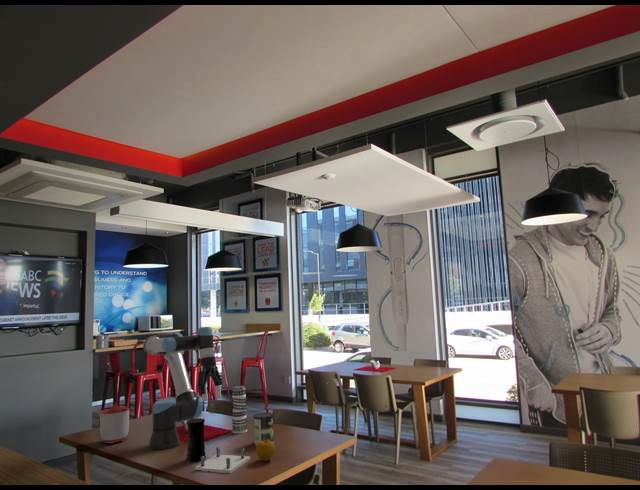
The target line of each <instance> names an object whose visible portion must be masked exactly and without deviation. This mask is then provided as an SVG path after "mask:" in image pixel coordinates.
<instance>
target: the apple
mask: <svg viewBox="0 0 640 490" xmlns="http://www.w3.org/2000/svg"><path fill="white" fill-rule="evenodd" d="M255 446H256V447H255V453H256V454H257V456H258V458H259V459H260V460H261V461H263V462H264V461H265V462H268V461H270V460H271V459H272V457H273V456H274V454H275V451H276V445H275V443H273V442H272V441H270V440H265V441H261V442H259V443H258V444H257V445H255Z"/></svg>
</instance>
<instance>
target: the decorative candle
mask: <svg viewBox="0 0 640 490" xmlns="http://www.w3.org/2000/svg"><path fill="white" fill-rule="evenodd" d="M246 389H247V388H246V387H245V386H244V385H235V386H233V388H232V389H231V391H232V395H231V396H230V401H231V411H232V420H231V421H232V423H231V424H232V434H243V433H247V432H248V428H249V427H248V417H247V409H248V407H247V406H248V405H247V403H248V401H247V400H248V398H247V397H246V396H247V394H246Z"/></svg>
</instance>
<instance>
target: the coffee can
mask: <svg viewBox="0 0 640 490" xmlns="http://www.w3.org/2000/svg"><path fill="white" fill-rule="evenodd" d="M252 418H253V436H254V437H253V441H254V442H253V443H254V445H255V446H257V444H258V443H259V442H261V441H265V440H270V441H272V442H273V443H274V442H275V441H274V439H275V438H274V436H275V435H274V414H273V413H272V412H258V413H255V414H254V415H252ZM274 444H275V443H274Z"/></svg>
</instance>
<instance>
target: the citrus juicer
mask: <svg viewBox="0 0 640 490" xmlns="http://www.w3.org/2000/svg"><path fill="white" fill-rule="evenodd" d="M98 413H99V434H100V437H101V441H102V443H103V442H119V441H122V440H124V441H126V440H125V439H127V437H128V434H129V430H130V429H129V428H130V407H128V406H118V405H117V404H116V403H115V404H113V405H112V406H111V407H110V408H109V409H108V408H107V409H102V410H100V411H99V412H98ZM119 443H120V442H119Z"/></svg>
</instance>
